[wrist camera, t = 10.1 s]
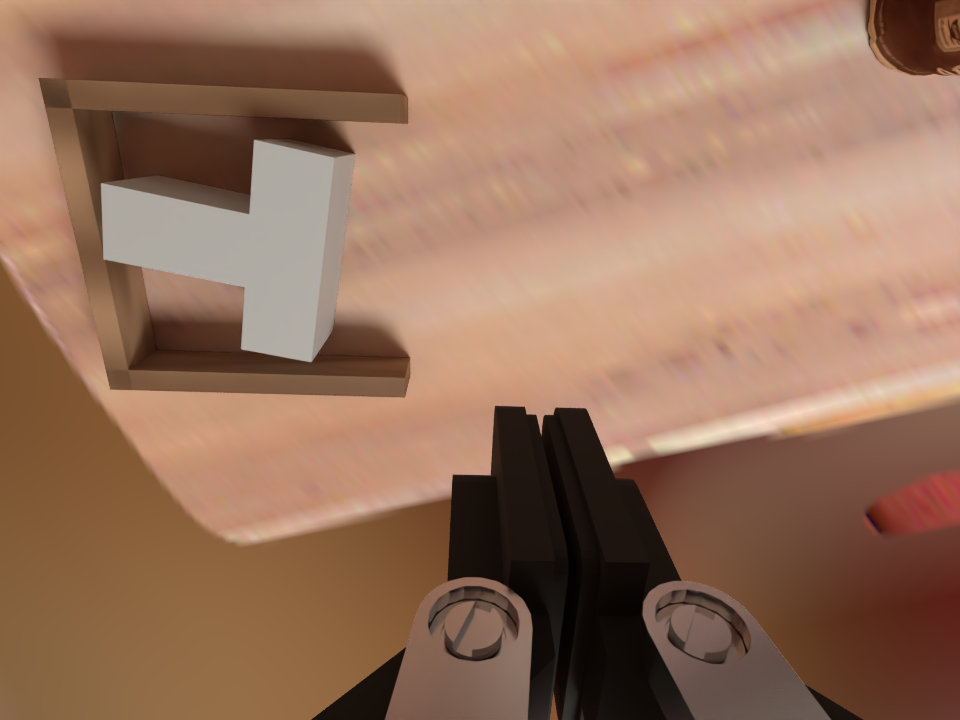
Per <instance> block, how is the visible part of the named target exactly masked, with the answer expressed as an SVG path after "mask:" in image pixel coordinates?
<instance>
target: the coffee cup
mask: <svg viewBox="0 0 960 720" xmlns="http://www.w3.org/2000/svg"><path fill="white" fill-rule="evenodd" d="M868 33H869V34H870V37H871V39H870V47H871V49H872V50H873V51H874V53H875V55H876V58H877V59H878V61H880V62H881V63H882V64H883V65H884V66H886V67H887V68H890V69H893V70H896V71H899V72H901V73H905V74H908V75H914V76H926V75H930V74H938V75H946V76H949V75H957V76H960V0H870V19H869V23H868Z"/></svg>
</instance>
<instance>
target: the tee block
mask: <svg viewBox="0 0 960 720" xmlns="http://www.w3.org/2000/svg"><path fill="white" fill-rule="evenodd" d="M354 161H355V154H354V153H350V152H345V151H341V150H336V149H332V148H327V147H323V146H319V145H314V144H310V143H305V142H301V141H297V140H292V139H262V140H254V149H253V165H252V181H251V195H249V194H244V193H239V192H235V191H230V190H225V189H221V188H216V187H212V186H207V185H202V184H198V183H193V182H188V181H184V180H179V179H174V178H170V177H165V176H160V175H155V176H148V177H141V178H134V179H126V180H119V181H112V182H105V183H101V200H102V229H103V258H104V260H109V261H114V262H119V263H124V264H129V265H134V266H140V267H145V268H150V269H155V270H160V271H165V272H170V273H175V274H180V275H185V276H190V277H195V278H200V279H205V280H210V281H215V282H220V283H225V284H230V285H235V286H240V287H245V293H244V309H243V325H242V342H241V349H242V350H248V351H253V352H258V353H264V354H269V355H274V356H280V357H285V358H290V359H296V360H301V361H306V362H312V361H313V359H314V358H315V356H316V355H317V353H318V352H319V350H320V349H321V347H322V346H323V344H324V343H325V341H326V340H327V339H328V337H329V336H330V334H331V333H332V331H333V327H334V319H335V312H336V304H337V296H338V288H339V280H340V272H341V264H342V256H343V248H344V240H345V232H346V225H347V217H348V209H349V201H350V193H351V185H352V177H353V169H354Z"/></svg>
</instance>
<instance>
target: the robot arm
mask: <svg viewBox="0 0 960 720" xmlns="http://www.w3.org/2000/svg"><path fill="white" fill-rule="evenodd" d="M449 543H450V544H449V564H448V582H446V583H444V584H442V585H440V586H438V587H437V588H435V589H434V590H432V591H431V593H430V594H428V595H427V596H426V597H425V598H424V599H423V601H422V603H421V605H420V607H419V609H418V611H417V613H416V617H415V620H414V623H413V627H412V630H411V633H410V637H409V640H408V644H407V647H406V648H404V649H403V650H402V651H400V652H399V653H398V654H397V655H395V656H394V657H393V658H391V659H390V660H389V661H387V662H386V663H385V664H383V665H382V666H381V667H380V668H378V669H377V670H376V671H374V672H373V673H372V674H370V675H369V676H368V677H367V678H365V679H364V680H363V681H361V682H360V683H359V684H357V685H356V686H355V687H353V688H352V689H351V690H349V691H348V692H347V693H346V694H344V695H343V696H342V697H340V698H339V699H338V700H336V701H335V702H334V703H333V704H331V705H330V706H329V707H327V708H326V709H325V710H323V711H322V712H321V713H320V714H318V715H317V716H316V717H314V718H313V719H312V720H550V713H551V706H552V698H553V690H554V696H555V703H556V710H557V716H558V720H863V719H861V718H859V717H857V716H856V715H854V714H853V713H851V712H849V711H847V710H846V709H844V708H843V707H841V706H840V705H838V704H836V703H835V702H833V701H831V700H830V699H828V698H826V697H824V696H823V695H821V694H820V693H818V692H816V691H815V690H813V689H811V688H810V687H808V686H806V685H805V684H804V683H803V682H802V681H801V679H800V678H799V677H798V675H797V674H796V673H795V671H794V670H793V669H792V667H791V666H790V665H789V663H788V662H787V661H786V660H785V658H784V657H783V656H782V654H781V653H780V652H779V650H778V649H777V648H776V646H775V645H774V644H773V642H772V641H771V640H770V638H769V637H768V636H767V635H766V633H765V632H764V630H763V629H762V628H761V627H760V625H759V624H758V623H757V621H756V620H755V619H754V617H753V616H752V615H751V614H750V613H749V612H748V611H747V610H746V609H745V608H744V607H743V606H742V605H741V604H740V603H738V602H737V601H735V600H734V599H733V598H731V597H730V596H728V595H727V594H725V593H723V592H721V591H719V590H717V589H714V588H712V587H710V586H707V585H704V584H699V583H695V582H691V581H681V579H680V577H679V575H678V573H677V570H676V568H675V566H674V564H673V562H672V559H671V557H670V555H669V553H668V551H667V549H666V547H665V544H664V542H663V540H662V538H661V536H660V534H659V532H658V529H657V527H656V525H655V523H654V521H653V519H652V517H651V515H650V512H649V510H648V508H647V506H646V504H645V501H644V499H643V497H642V495H641V493H640V491H639V489H638V486H637V485H636V483H635V482H634V480H632V479H619V478H615V477H614V474H613V472H612V469H611V467H610V464H609V462H608V460H607V457H606V455H605V452H604V450H603V447H602V445H601V443H600V440H599V438H598V435H597V433H596V431H595V428H594V426H593V423H592V421H591V418H590V416H589V414H588V411H587V410H586V409H585V408H555V411H554V415H544V418H543V425H542V436H541V433H540V429H539V425H538V420H537V416H536V415H526V410H525V407H513V406H495V412H494V427H493V445H492V463H491V476H490V475H453V479H452V500H451V521H450V542H449Z"/></svg>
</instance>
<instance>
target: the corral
mask: <svg viewBox="0 0 960 720" xmlns="http://www.w3.org/2000/svg"><path fill="white" fill-rule="evenodd" d="M39 82H40V86H41V91H42V95H43V99H44V104H45V108H46V112H47V117H48V121H49V125H50V130H51V134H52V138H53V143H54V147H55V151H56V156H57V160H58V164H59V169H60V173H61V177H62V182H63V186H64V190H65V195H66V199H67V203H68V208H69V212H70V216H71V221H72V225H73V229H74V234H75V238H76V243H77V247H78V251H79V256H80V260H81V264H82V269H83V273H84V277H85V282H86V286H87V290H88V295H89V299H90V303H91V308H92V312H93V316H94V321H95V325H96V329H97V334H98V338H99V342H100V347H101V351H102V355H103V360H104V364H105V368H106V373H107V377H108V381H109V386H110V389H113V390H150V391H186V392H223V393H260V394H297V395H334V396H370V397H405V395H406V391H407V387H408V383H409V379H410V358H403V357H369V356H335V355H316V356H315V358H314V359H313V361H312V362H306V361H301V360H296V359H290V358H285V357H280V356H274V355H269V354H264V353H233V352H199V351H165V350H157V349H156V344H155V338H154V333H153V328H152V323H151V317H150V312H149V307H148V302H147V296H146V291H145V286H144V281H143V275H142V270H141V267H140V266H134V265H129V264H124V263H119V262H114V261H109V260H104V258H103V229H102V200H101V183H105V182H112V181H119V180H124V176H123V170H122V165H121V160H120V155H119V149H118V144H117V139H116V134H115V128H114V123H113V118H112V113H111V111H123V112H146V113H170V114H193V115H216V116H240V117H263V118H286V119H309V120H333V121H356V122H379V123H403V124H408V98H407V97H405V96H403V95H402V94H385V93H363V92H340V91H318V90H295V89H273V88H251V87H228V86H206V85H183V84H161V83H138V82H116V81H94V80H71V79H49V78H39Z"/></svg>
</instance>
